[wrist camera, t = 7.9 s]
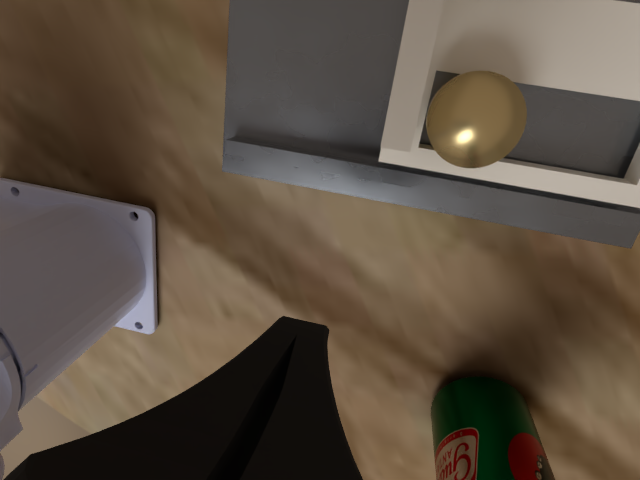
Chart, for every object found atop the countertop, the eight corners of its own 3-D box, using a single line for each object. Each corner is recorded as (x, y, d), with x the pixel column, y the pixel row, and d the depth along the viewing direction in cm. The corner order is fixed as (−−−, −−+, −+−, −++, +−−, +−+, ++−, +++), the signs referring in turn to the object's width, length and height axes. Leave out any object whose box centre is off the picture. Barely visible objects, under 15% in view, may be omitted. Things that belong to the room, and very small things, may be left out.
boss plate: (231, 165, 20) (195, 186, 17) (252, -219, 15) (205, -309, 11) (617, 237, 18) (668, 278, 15) (810, -175, 13) (967, -268, 9)
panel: (379, 156, 18) (374, 176, 14) (439, -148, 13) (451, -215, 10) (631, 200, 16) (686, 233, 13) (778, -117, 12) (908, -180, 9)
